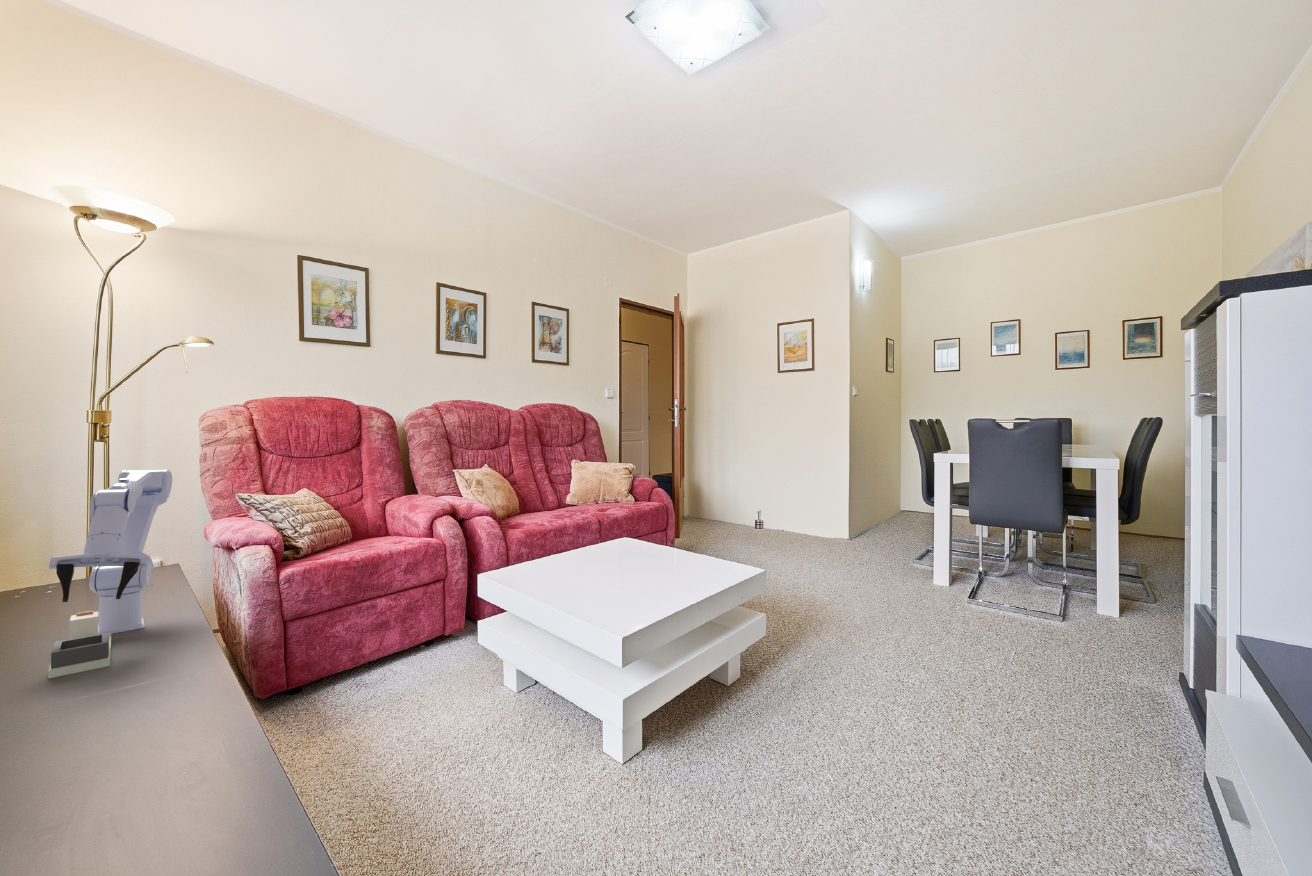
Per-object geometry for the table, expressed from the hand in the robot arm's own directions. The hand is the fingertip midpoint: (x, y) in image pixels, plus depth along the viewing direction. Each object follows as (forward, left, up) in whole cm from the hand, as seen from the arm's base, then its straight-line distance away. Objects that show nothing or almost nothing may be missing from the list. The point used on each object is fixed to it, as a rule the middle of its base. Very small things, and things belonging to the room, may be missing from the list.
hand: (92, 599), depth 109 cm
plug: (-3, -1, -10) cm, 11 cm away
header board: (+2, -1, -11) cm, 12 cm away
